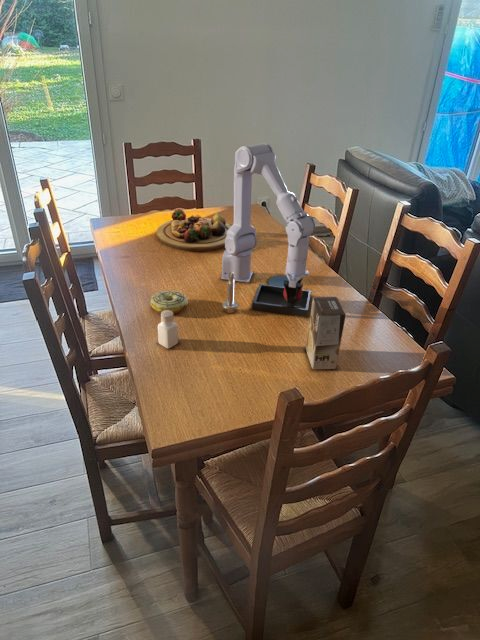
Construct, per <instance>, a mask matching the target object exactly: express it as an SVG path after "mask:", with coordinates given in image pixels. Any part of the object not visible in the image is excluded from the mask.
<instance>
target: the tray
mask: <svg viewBox="0 0 480 640" xmlns="http://www.w3.org/2000/svg"><path fill="white" fill-rule="evenodd" d="M284 288H285V287H280V286H272V285H269V284H265V283H259V284H258V287H257V290H256V292H255V295H254V298H253V300H252V307H251V310H255V311H261V312H267V313H274V314H281V315H288V316H295V317H303V318H308V313H309V307H310V302H311V295H312V290H309V289H302V297H301V299H300V300H299V301H297V302H295V303H294V304H291V303H288V301H287V300H286V299H285V297H284V295H283V292H284Z"/></svg>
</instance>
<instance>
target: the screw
mask: <svg viewBox="0 0 480 640" xmlns="http://www.w3.org/2000/svg"><path fill="white" fill-rule="evenodd" d="M233 278H234V273H233V272H230V273H229V280H227V294H226V295H227V297H226V298H227V300H225V301H223V302H222V304H221V306H222V308H223V309H224V310H225V312H226V313H228V314H232V313H233V314H234V312H235V310H237V309H238V308H239V303H238V302H237V301H235V300H234V299H235V298H234V297H235V281H234V279H233Z"/></svg>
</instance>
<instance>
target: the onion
mask: <svg viewBox="0 0 480 640" xmlns="http://www.w3.org/2000/svg"><path fill="white" fill-rule="evenodd" d="M302 290H303V287H302V288H301V290H300V291H299V293H298V295H297V298H296V301H295V302H297V301H299V300H300V299H301V297H302ZM283 295H284V297H285V299H286V300H287V293H286V289H285V288H284V292H283ZM291 304H293V303H291Z"/></svg>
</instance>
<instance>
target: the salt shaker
mask: <svg viewBox="0 0 480 640" xmlns="http://www.w3.org/2000/svg"><path fill="white" fill-rule="evenodd" d="M160 321H161V322H159V323H158V324H157V340H158V344H159V345H161V346H162V347H163V348H166V349H170V348H172V347H174V346H176V345H178V343H179V328H178V324H177V323H176V321H174V314H173V312H172V311H169V310H165V311H162V312H161V313H160Z"/></svg>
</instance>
